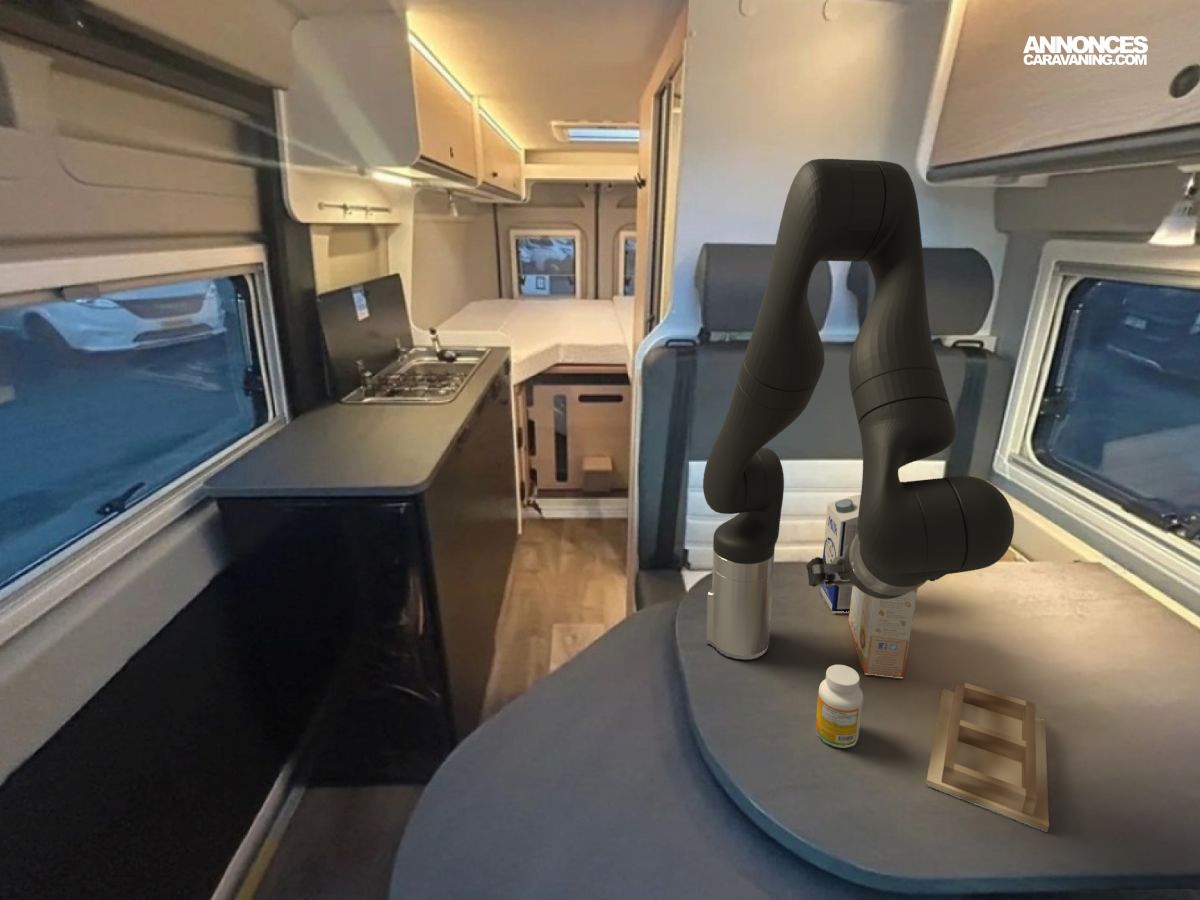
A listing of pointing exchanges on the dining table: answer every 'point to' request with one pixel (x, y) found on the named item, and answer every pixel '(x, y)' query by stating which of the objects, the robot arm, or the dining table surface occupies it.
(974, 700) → the tray
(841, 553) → the milk carton
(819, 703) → the supplement bottle
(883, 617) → the cracker box
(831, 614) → the dining table surface
